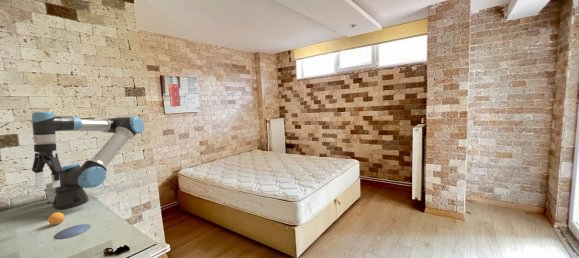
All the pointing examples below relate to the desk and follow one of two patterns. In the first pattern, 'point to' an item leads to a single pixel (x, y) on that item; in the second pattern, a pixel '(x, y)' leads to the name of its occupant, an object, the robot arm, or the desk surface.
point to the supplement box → (50, 192)
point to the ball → (56, 218)
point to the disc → (72, 231)
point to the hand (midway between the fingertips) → (48, 186)
